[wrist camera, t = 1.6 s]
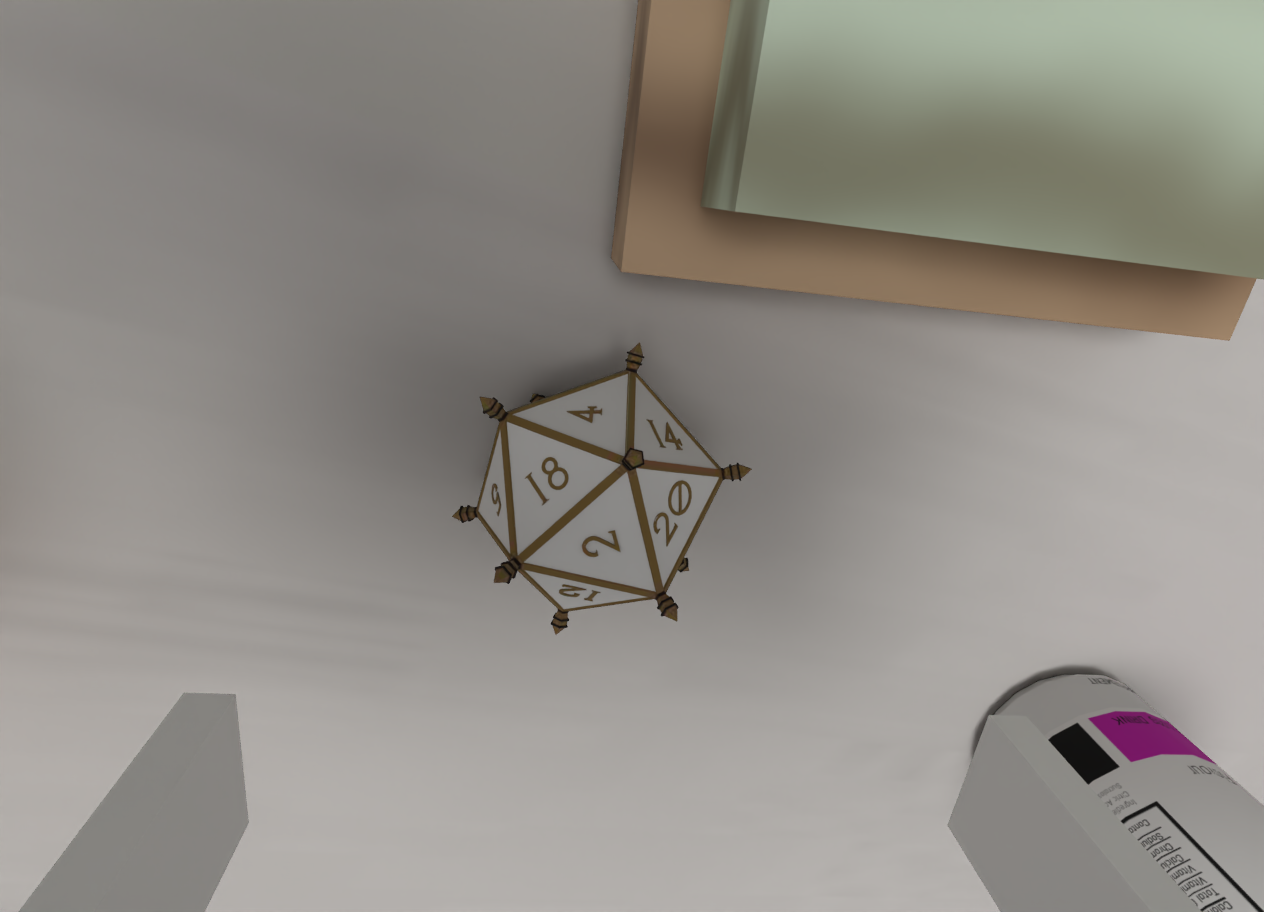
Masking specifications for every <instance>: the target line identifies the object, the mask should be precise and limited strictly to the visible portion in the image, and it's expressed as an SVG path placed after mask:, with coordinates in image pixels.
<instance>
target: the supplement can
mask: <svg viewBox="0 0 1264 912" xmlns="http://www.w3.org/2000/svg"><path fill="white" fill-rule="evenodd" d="M994 715H1012V716H1027V717H1028V718H1029V719H1030V721H1031V722H1032V723H1033V724H1034V725H1035V726H1036V727H1037V728H1038V729H1039V731H1040V732H1041V733H1042V734H1043V735H1044V736H1045V737H1046V738H1047V739H1048V741H1049V742H1050V743H1051V744H1052V745H1053V746H1054V747H1055V748H1056V750H1057V751H1058V752H1059V753H1060V754H1061V755H1062V756H1063V757H1064V758H1065V760H1066V761H1067V762H1068V763H1069V764H1070V765H1071V766H1072V767H1073V769H1074V770H1075V771H1076V772H1077V773H1078V774H1079V775H1080V776H1081V777H1082V779H1083V780H1084V781H1085V782H1086V783H1087V784H1088V785H1089V786H1090V788H1091V789H1092V790H1093V791H1094V792H1095V793H1096V794H1097V795H1098V796H1099V798H1100V799H1101V800H1102V801H1103V802H1104V803H1105V804H1106V805H1107V807H1108V808H1109V809H1110V810H1111V811H1112V812H1113V813H1114V814H1115V815H1116V817H1117V818H1118V819H1119V820H1120V821H1121V822H1122V823H1123V824H1124V825H1125V827H1126V828H1127V829H1128V830H1129V831H1130V832H1131V833H1132V834H1133V836H1134V837H1135V838H1136V839H1137V840H1138V841H1139V842H1140V843H1141V844H1142V846H1143V847H1144V848H1145V849H1146V850H1147V851H1148V852H1149V853H1150V855H1151V856H1152V857H1153V858H1154V859H1155V860H1156V861H1157V862H1158V863H1159V865H1160V866H1161V867H1162V868H1163V869H1164V870H1165V871H1166V872H1167V874H1168V875H1169V876H1170V877H1171V878H1172V879H1173V880H1174V881H1175V882H1176V884H1177V885H1178V886H1179V887H1180V888H1181V889H1182V890H1183V891H1184V893H1185V894H1186V895H1187V896H1188V897H1189V898H1190V899H1191V900H1192V901H1193V903H1194V904H1195V905H1196V906H1197V907H1198V908H1199V909H1200V910H1201V911H1202V912H1264V806H1263V805H1262V804H1261V803H1260V802H1259V801H1258V800H1257V799H1255V798H1254V797H1253V796H1252V795H1251V794H1250V793H1249V792H1247V791H1246V790H1245V789H1244V788H1243V787H1242V786H1241V785H1239V784H1238V783H1237V782H1236V781H1235V780H1234V779H1233V778H1232V777H1230V776H1229V775H1228V774H1227V773H1226V772H1225V771H1224V770H1222V769H1221V768H1220V767H1219V766H1218V765H1217V764H1216V763H1214V762H1213V761H1212V760H1211V759H1210V758H1209V757H1208V756H1206V755H1205V754H1204V753H1203V752H1202V751H1201V750H1200V749H1199V748H1197V747H1196V746H1195V745H1194V744H1193V743H1192V742H1191V741H1189V740H1188V739H1187V738H1186V737H1185V736H1184V735H1183V734H1181V733H1180V732H1179V731H1178V730H1177V729H1176V728H1175V727H1173V726H1172V725H1171V724H1170V723H1169V722H1168V721H1167V720H1166V719H1164V718H1163V717H1162V716H1161V715H1160V714H1159V713H1158V712H1156V711H1155V710H1154V709H1153V708H1152V707H1151V706H1150V705H1148V704H1147V703H1146V702H1145V701H1144V700H1143V699H1142V698H1140V697H1139V696H1138V695H1137V694H1136V693H1135V692H1134V691H1133V690H1131V689H1130V688H1129V687H1128V686H1127V685H1126V684H1123V683H1121V682H1119V681H1116V680H1114V679H1112V678H1109V677H1107V676H1105V675H1082V674H1076V675H1060V676H1056V677H1052V678H1048V679H1044V680H1040V681H1037V682H1036V683H1034V684H1032V685H1030V686H1028V687H1027V688H1025V689H1023V690H1021V691H1019V692H1017V693H1016V694H1014V695H1013V696H1012V697H1011V698H1010V699H1009V700H1008V701H1007V702H1006V703H1005V704H1004V705H1002V706H1001V707H1000V708H999V709H998V710H997V711H996V712H995V714H994Z"/></svg>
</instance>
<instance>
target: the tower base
mask: <svg viewBox="0 0 1264 912" xmlns="http://www.w3.org/2000/svg"><path fill="white" fill-rule="evenodd" d="M611 259H612V260H613V261H614V263H615V264H616V265H617V267H618V268H619V270H620V271H621V272H627V273H636V274H645V275H654V276H663V277H671V278H680V279H689V280H698V281H707V282H716V283H725V284H733V285H742V286H751V287H760V288H769V289H778V290H786V291H795V292H804V293H813V294H822V295H831V296H839V297H848V298H857V299H866V300H875V301H884V302H892V303H901V304H910V305H919V306H928V307H937V308H945V309H954V310H963V311H972V312H981V313H990V314H998V315H1007V316H1016V317H1025V318H1034V319H1043V320H1051V321H1060V322H1069V323H1078V324H1087V325H1096V326H1104V327H1113V328H1122V329H1131V330H1140V331H1149V332H1157V333H1166V334H1175V335H1184V336H1193V337H1202V338H1211V339H1219V340H1228V341H1229V340H1230V338H1231V336H1232V334H1233V331H1234V329H1235V327H1236V324H1237V322H1238V320H1239V318H1240V315H1241V313H1242V311H1243V309H1244V306H1245V304H1246V302H1247V299H1248V297H1249V295H1250V293H1251V290H1252V288H1253V286H1254V283H1255V281H1256V279H1264V0H638V8H637V17H636V27H635V36H634V46H633V55H632V65H631V74H630V84H629V93H628V103H627V112H626V122H625V131H624V141H623V150H622V159H621V169H620V178H619V188H618V197H617V207H616V216H615V226H614V235H613V245H612V254H611Z"/></svg>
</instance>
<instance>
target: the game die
mask: <svg viewBox="0 0 1264 912" xmlns="http://www.w3.org/2000/svg"><path fill="white" fill-rule="evenodd" d="M627 353H628V358H627V359H626V360H625V361H627V368H626V370H624V371H621V372H618V373H615V374H612V375H610V376H607V377H604V378H601V379H598V380H595V381H592V382H590V383H587V384H584V385H581V386H578V387H575V388H573V389H570V390H567V391H564V392H561V393H558V394H556V395H553V396H550V397H547V398H545V396H543V395H538V394H533V395H532V399H531V400H530V402H531V403H530V404H527V405H524V406H521V407H519V408H516V409H513V410H510V411H507V412H506V411H505V410H504V409H503V407H504V406H503V405H502V404H500V403H498V400H497V399H495V398H494V397H493V398H492V399H491V398H485V397H480V400H481V403H482V406H483V413H484V414H485V413H487V414H488V415H489V418H495V419H498V420H499V425H498V429H497V433H496V436H495V440H494V444H493V448H492V452H491V455H490V459H489V463H488V467H487V471H486V474H485V478H484V482H483V486H482V490H481V493H480V497H479V501H478V505H477V507H470V506H469V505H467V507H463V506H461V507H460V509H459V510H458V511H457V512H456V513H455V514H454V515H453V516H452V517H454V518H456V519H458V520H460V521H461V522H462V523H464V522H466V521H467V520H468V521H471V520H473V519H474V518H475V517H478V518H479V520H480V521H481V523H482V524H483V525H484V527H485V528H486V529H487V531H488V532H489V534H490V535H491V536H492V538H493V539H494V540H495V542H496V543H497V545H498V546H499V547H500V549H501V550H502V551H503V553H504V554H505V556H506V557H507V558H508V560H509V561H507V562H503V563H501V566H499V567H495V570H496V573H495V579H494V583H500V582H506V583H508V584H509V583H510V580H511V578H515V576H516V573H517V570H518V571H519V572H520V573H521V574H522V575H523V576H524V577H525V578H526V579H527V580H528V581H529V582H530V583H531V584H532V585H533V586H535V587H536V588H537V589H538V590H539V591H540V592H541V593H542V594H543V595H544V596H545V597H546V598H547V599H548V600H549V601H550V602H551V603H552V604H553V605H554V606H556V607H557V608H558V612H557V613H555V615H554V616H553V618H554V619H553V621H552V622H551V625H553V628H554V631H555V634H558V633H559V632H560V631H561V630H563V629H564V628H567V627H568V626H567V621H569V619H568V614H567V613H568V612H569V611H573V610H580V609H587V608H594V607H601V606H608V605H615V604H622V603H629V602H636V601H643V600H650V599H656V600H657V603H658V607H657V609H660V611H661V612H662V614H661V616H666V617H668V618H670V619H673V620H675V621H677V609H678V606H677V604H676V603H674V600H673V599H672V597H671V596H670V597H669V596H668V595H667V594H666V592H667V590H668V588H669V586H670V584H671V582H672V580H673V578H674V576H675V574H676V572H677V570H678V571H680V572H682V571H689V568H688V558H684V556H685V554H686V552H687V550H688V548H689V546H690V544H691V542H692V540H693V538H694V536H695V534H696V532H697V530H698V528H699V526H700V524H701V522H702V520H703V518H704V516H705V514H706V512H707V511H708V509H709V507H710V505H711V503H712V501H713V499H714V497H715V495H716V493H717V491H718V489H719V487H720V485H721V483H722V481H723V480H724V479H730V480H732V481H734V480H735V479H739V480H740V481H741V478H742V477H744V476H745V475H746V474H747V473H748V472H749V471H750V470H752V469H750V468H748V467H745V466H742V465H739V463H737V465H732V466H731V464H730V465H729V467H726V468H724V469H723V468H720V466H719V465H718V464H717V463H716V462H715V461H714V460H713V459H712V457H711V456H710V455H709V454H708V453H707V452H706V451H705V450H704V448H703V447H702V446H701V445H700V444H699V443H698V442H697V441H696V439H695V438H694V437H693V436H692V435H691V434H690V433H689V432H688V430H687V429H686V428H685V427H684V426H683V425H682V424H681V423H680V421H679V420H678V419H677V418H676V417H675V416H674V415H673V414H672V412H671V411H670V410H669V409H668V408H667V407H666V406H665V405H664V403H663V402H662V401H661V400H660V399H659V398H658V397H657V396H656V394H655V393H654V392H653V391H652V390H651V389H650V388H649V386H648V385H647V384H646V383H645V382H644V381H643V380H642V379H641V377H640V376H639V375H638V374H637V369H638V368H639V366H640V365H642V364H641V361H642V358H644V356H643V354H642V349H641V345H640V343H639V344H638V345H636V346H635V347H634V348H633V349H632V350H631V351H630V352H627Z"/></svg>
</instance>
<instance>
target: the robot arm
mask: <svg viewBox="0 0 1264 912" xmlns="http://www.w3.org/2000/svg"><path fill="white" fill-rule="evenodd" d="M248 823H249V821H248V811H247V801H246V791H245V782H244V772H243V762H242V752H241V743H240V733H239V723H238V713H237V704H236V694H205V693H184V694H183V695H182V696H181V698H180V699H179V700H178V701H177V703H176V704H175V705H174V707H173V708H172V709H171V711H170V712H169V713H168V715H167V716H166V717H165V719H164V720H163V721H162V723H161V724H160V725H159V727H158V728H157V729H156V731H155V732H154V733H153V735H152V736H151V737H150V739H149V740H148V741H147V743H146V744H145V745H144V746H143V748H142V749H141V750H140V752H139V753H138V754H137V756H136V757H135V758H134V760H133V761H132V762H131V764H130V765H129V766H128V768H127V769H126V770H125V772H124V773H123V774H122V776H121V777H120V778H119V780H118V781H117V782H116V784H115V785H114V786H113V788H112V789H111V790H110V791H109V793H108V794H107V795H106V797H105V798H104V799H103V801H102V802H101V803H100V805H99V806H98V807H97V809H96V810H95V811H94V813H93V814H92V815H91V817H90V818H89V819H88V821H87V822H86V823H85V825H84V826H83V827H82V829H81V830H80V831H79V833H78V834H77V835H76V836H75V838H74V839H73V840H72V842H71V843H70V844H69V846H68V847H67V848H66V850H65V851H64V852H63V854H62V855H61V856H60V858H59V859H58V860H57V862H56V863H55V864H54V866H53V867H52V868H51V870H50V871H49V872H48V874H47V875H46V876H45V878H44V879H43V880H42V882H41V883H40V884H39V885H38V887H37V888H36V889H35V891H34V892H33V893H32V895H31V896H30V897H29V899H28V900H27V901H26V903H25V904H24V905H23V907H22V908H21V909H20V911H19V912H205V910H206V908H207V906H208V904H209V902H210V900H211V898H212V896H213V894H214V892H215V890H216V888H217V886H218V884H219V882H220V880H221V878H222V876H223V874H224V872H225V869H226V867H227V865H228V863H229V861H230V859H231V857H232V855H233V853H234V851H235V849H236V847H237V845H238V843H239V841H240V839H241V837H242V835H243V833H244V831H245V829H246V827H247V825H248ZM948 827H949V828H950V830H951V832H952V833H953V835H954V837H955V838H956V840H957V842H958V843H959V845H960V846H961V848H962V850H963V851H964V853H965V855H966V856H967V858H968V859H969V861H970V863H971V864H972V866H973V868H974V869H975V871H976V872H977V874H978V876H979V877H980V879H981V881H982V882H983V884H984V885H985V887H986V889H987V890H988V892H989V894H990V895H991V897H992V898H993V900H994V902H995V903H996V905H997V907H998V908H999V910H1000V911H1001V912H1202V911H1201V910H1200V909H1199V908H1198V907H1197V906H1196V905H1195V904H1194V903H1193V901H1192V900H1191V899H1190V898H1189V897H1188V896H1187V895H1186V894H1185V893H1184V891H1183V890H1182V889H1181V888H1180V887H1179V886H1178V885H1177V884H1176V882H1175V881H1174V880H1173V879H1172V878H1171V877H1170V876H1169V875H1168V874H1167V872H1166V871H1165V870H1164V869H1163V868H1162V867H1161V866H1160V865H1159V863H1158V862H1157V861H1156V860H1155V859H1154V858H1153V857H1152V856H1151V855H1150V853H1149V852H1148V851H1147V850H1146V849H1145V848H1144V847H1143V846H1142V844H1141V843H1140V842H1139V841H1138V840H1137V839H1136V838H1135V837H1134V836H1133V834H1132V833H1131V832H1130V831H1129V830H1128V829H1127V828H1126V827H1125V825H1124V824H1123V823H1122V822H1121V821H1120V820H1119V819H1118V818H1117V817H1116V815H1115V814H1114V813H1113V812H1112V811H1111V810H1110V809H1109V808H1108V807H1107V805H1106V804H1105V803H1104V802H1103V801H1102V800H1101V799H1100V798H1099V796H1098V795H1097V794H1096V793H1095V792H1094V791H1093V790H1092V789H1091V788H1090V786H1089V785H1088V784H1087V783H1086V782H1085V781H1084V780H1083V779H1082V777H1081V776H1080V775H1079V774H1078V773H1077V772H1076V771H1075V770H1074V769H1073V767H1072V766H1071V765H1070V764H1069V763H1068V762H1067V761H1066V760H1065V758H1064V757H1063V756H1062V755H1061V754H1060V753H1059V752H1058V751H1057V750H1056V748H1055V747H1054V746H1053V745H1052V744H1051V743H1050V742H1049V741H1048V739H1047V738H1046V737H1045V736H1044V735H1043V734H1042V733H1041V732H1040V731H1039V729H1038V728H1037V727H1036V726H1035V725H1034V724H1033V723H1032V722H1031V721H1030V719H1029V718H1028V717H1027V716H1012V715H989V716H988V718H987V721H986V724H985V726H984V729H983V732H982V734H981V737H980V740H979V742H978V745H977V748H976V750H975V753H974V756H973V758H972V761H971V764H970V766H969V769H968V772H967V774H966V777H965V780H964V782H963V785H962V788H961V790H960V793H959V796H958V798H957V801H956V804H955V806H954V809H953V812H952V814H951V817H950V820H949V822H948Z"/></svg>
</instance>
